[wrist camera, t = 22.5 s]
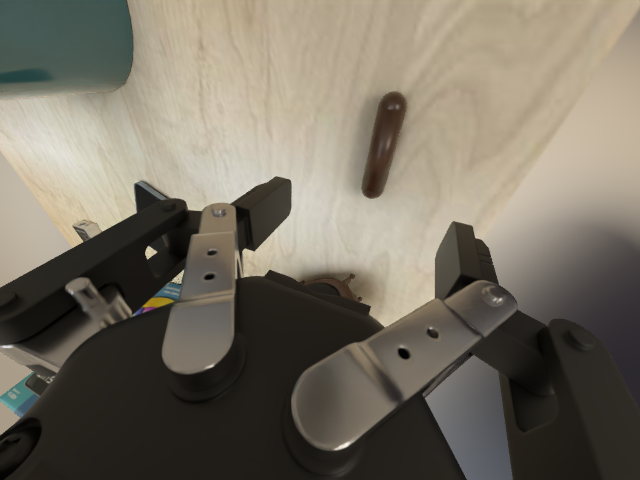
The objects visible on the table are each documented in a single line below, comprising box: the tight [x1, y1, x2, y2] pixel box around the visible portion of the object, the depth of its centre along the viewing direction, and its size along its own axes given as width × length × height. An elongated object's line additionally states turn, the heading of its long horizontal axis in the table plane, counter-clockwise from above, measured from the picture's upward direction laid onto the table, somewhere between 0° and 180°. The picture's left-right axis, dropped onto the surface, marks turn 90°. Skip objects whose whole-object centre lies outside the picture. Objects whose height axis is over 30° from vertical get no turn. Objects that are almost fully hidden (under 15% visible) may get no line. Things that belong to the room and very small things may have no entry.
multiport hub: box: [72, 220, 101, 242], centre depth 55 cm, size 4×11×2 cm, turn 0°
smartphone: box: [134, 181, 167, 252], centre depth 42 cm, size 7×1×15 cm
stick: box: [361, 92, 407, 199], centre depth 22 cm, size 9×2×2 cm, turn 174°
